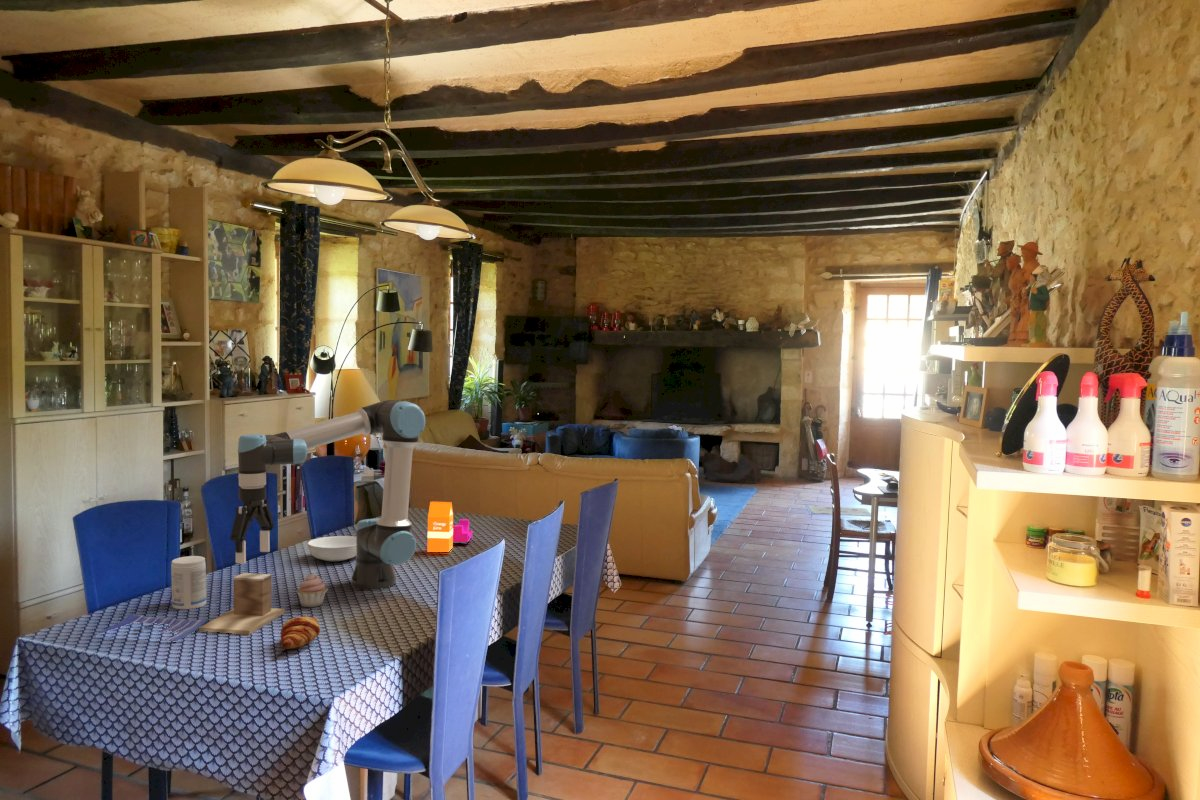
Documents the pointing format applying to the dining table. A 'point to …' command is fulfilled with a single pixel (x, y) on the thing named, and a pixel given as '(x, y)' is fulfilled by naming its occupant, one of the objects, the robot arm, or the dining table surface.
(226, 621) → the board
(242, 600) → the wooden block
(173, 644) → the dining table surface
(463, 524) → the toy block
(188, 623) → the dish towel
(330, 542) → the serving bowl
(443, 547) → the orange juice
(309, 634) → the croissant
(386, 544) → the robot arm
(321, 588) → the cupcake
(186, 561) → the supplement tub
